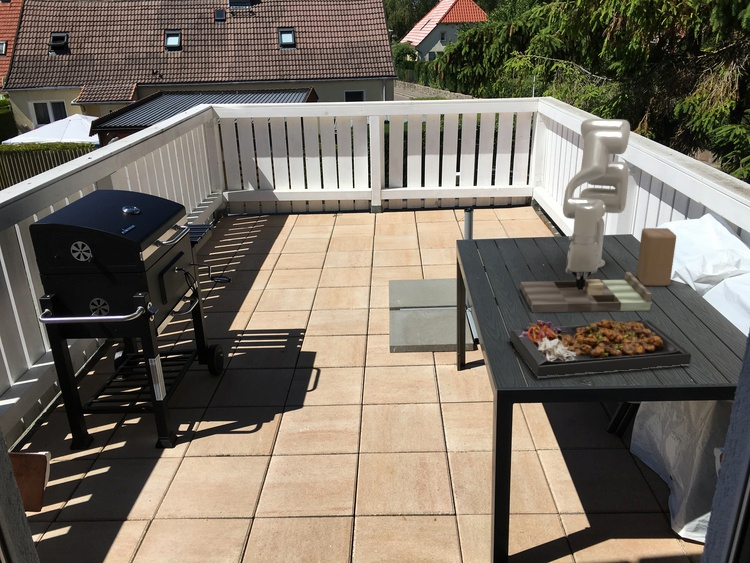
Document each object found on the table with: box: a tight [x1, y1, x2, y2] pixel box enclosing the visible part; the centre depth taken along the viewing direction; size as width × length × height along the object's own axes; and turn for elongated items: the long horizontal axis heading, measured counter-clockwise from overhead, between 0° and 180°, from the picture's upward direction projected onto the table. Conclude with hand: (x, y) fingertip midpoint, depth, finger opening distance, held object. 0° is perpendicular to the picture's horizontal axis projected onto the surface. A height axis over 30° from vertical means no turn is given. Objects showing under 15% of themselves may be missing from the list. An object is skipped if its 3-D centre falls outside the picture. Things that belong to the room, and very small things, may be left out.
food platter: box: [509, 313, 692, 376], centre depth 195 cm, size 45×25×10 cm, turn 97°
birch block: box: [584, 278, 603, 295], centre depth 233 cm, size 5×5×4 cm
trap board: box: [520, 271, 653, 314], centre depth 235 cm, size 22×40×6 cm, turn 89°
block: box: [636, 227, 677, 287], centre depth 246 cm, size 10×10×20 cm
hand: (579, 288), depth 234 cm, fingers closed
